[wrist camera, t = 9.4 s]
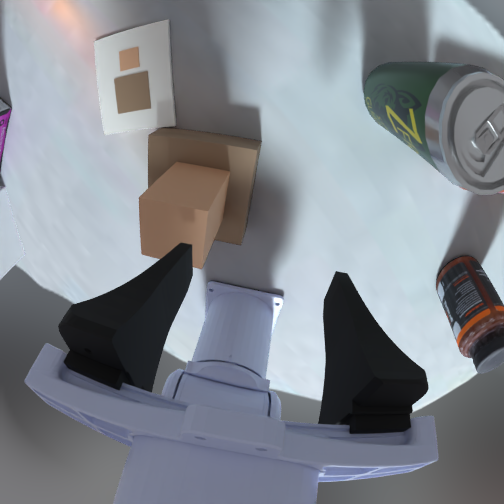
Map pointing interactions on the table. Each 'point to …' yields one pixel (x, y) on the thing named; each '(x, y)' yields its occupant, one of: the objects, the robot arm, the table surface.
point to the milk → (8, 236)
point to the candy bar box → (3, 124)
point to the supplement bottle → (473, 312)
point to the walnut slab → (214, 156)
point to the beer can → (444, 118)
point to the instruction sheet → (135, 79)
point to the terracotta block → (183, 210)
